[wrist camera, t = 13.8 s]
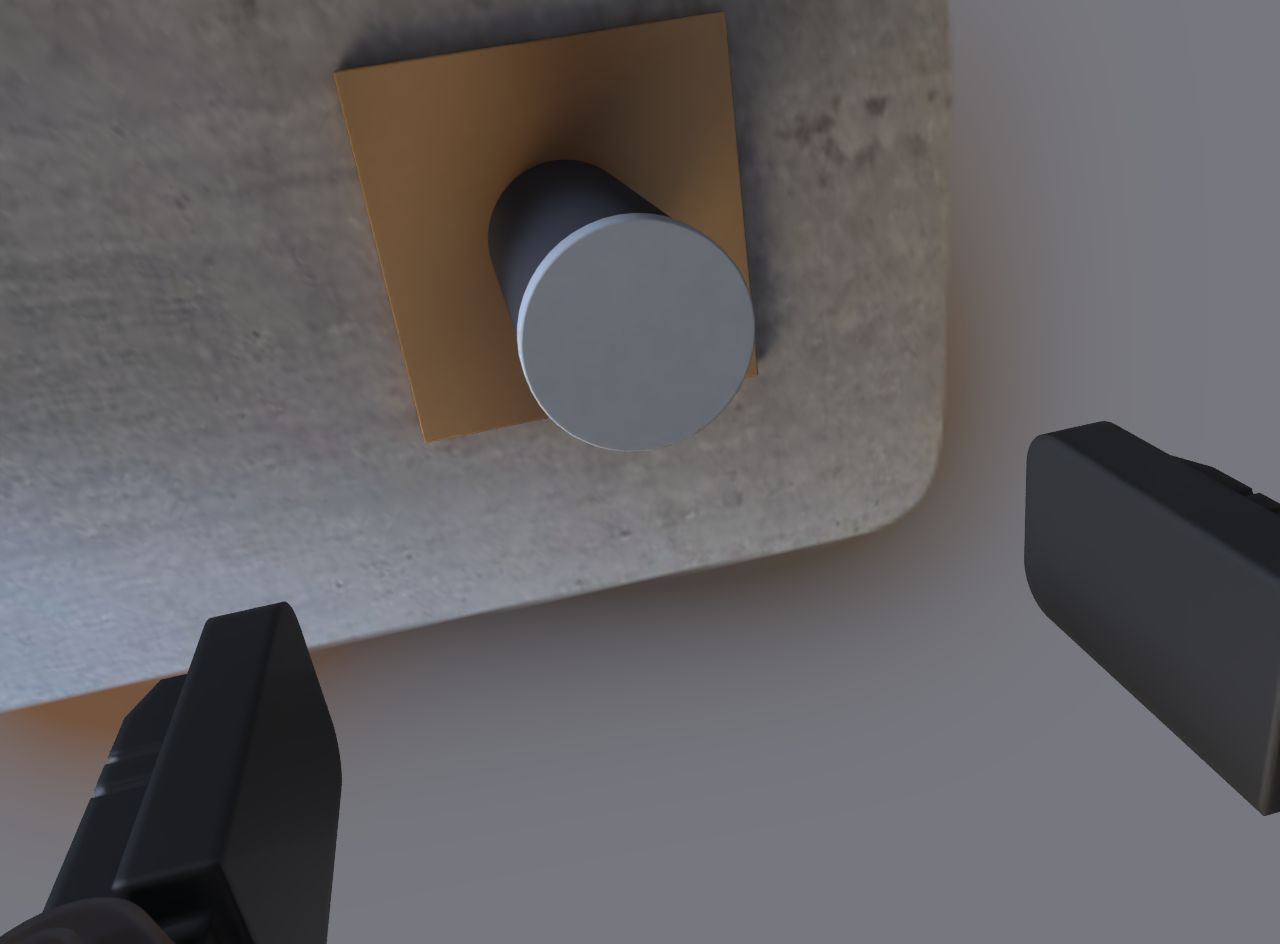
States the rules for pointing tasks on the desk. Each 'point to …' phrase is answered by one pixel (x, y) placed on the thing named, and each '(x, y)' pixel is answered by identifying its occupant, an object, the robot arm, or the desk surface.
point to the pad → (505, 148)
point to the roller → (618, 308)
